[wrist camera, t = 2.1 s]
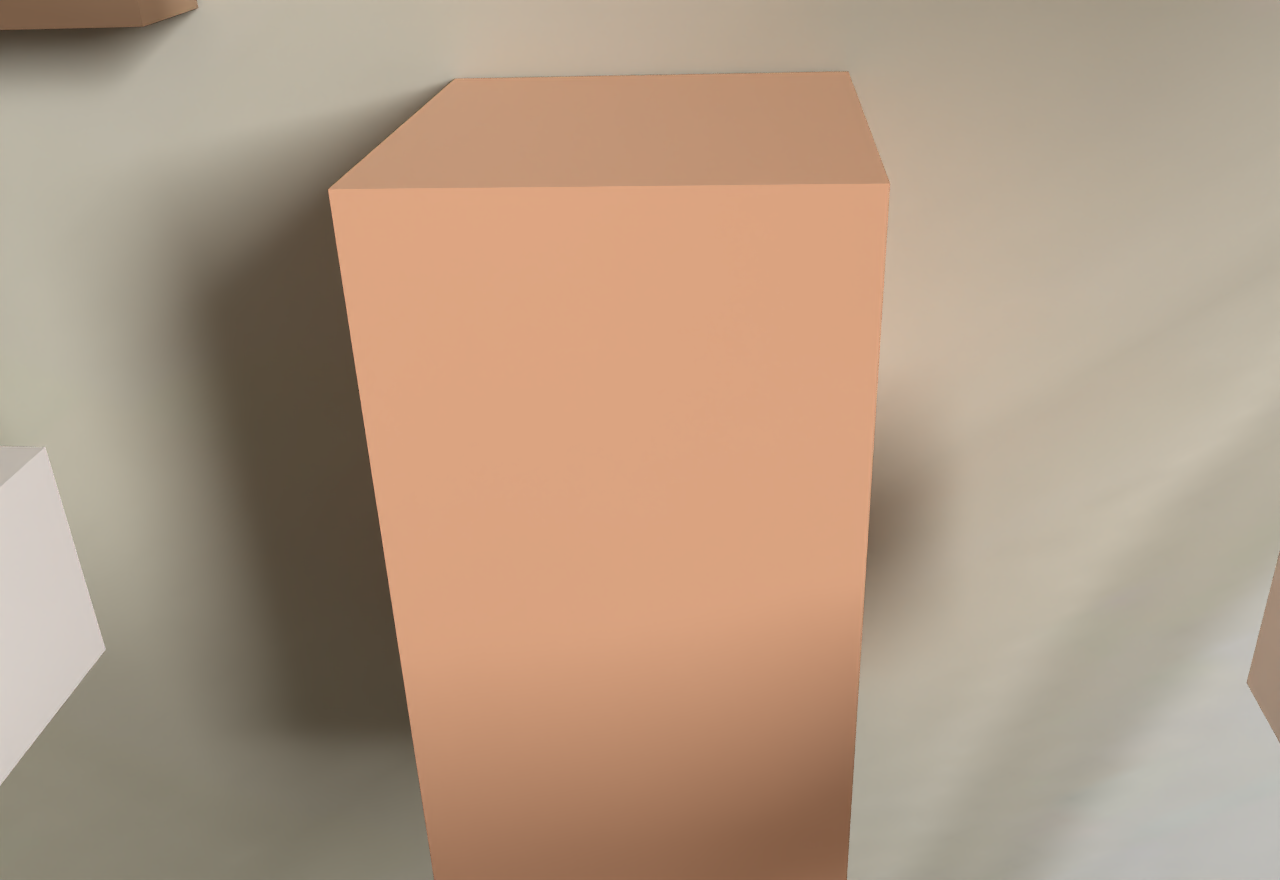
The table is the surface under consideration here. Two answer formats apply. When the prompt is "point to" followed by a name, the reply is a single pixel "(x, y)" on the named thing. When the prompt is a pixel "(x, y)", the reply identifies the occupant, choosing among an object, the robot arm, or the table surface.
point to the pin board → (88, 13)
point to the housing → (625, 463)
